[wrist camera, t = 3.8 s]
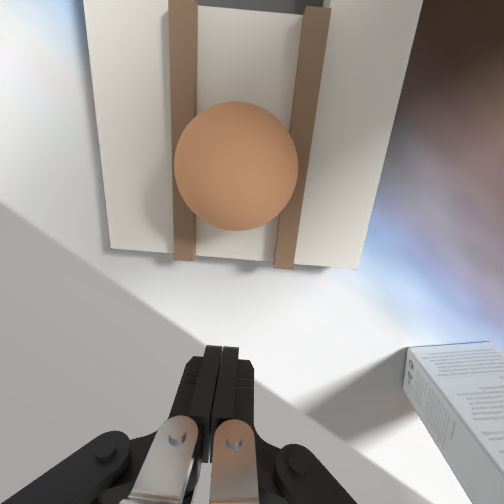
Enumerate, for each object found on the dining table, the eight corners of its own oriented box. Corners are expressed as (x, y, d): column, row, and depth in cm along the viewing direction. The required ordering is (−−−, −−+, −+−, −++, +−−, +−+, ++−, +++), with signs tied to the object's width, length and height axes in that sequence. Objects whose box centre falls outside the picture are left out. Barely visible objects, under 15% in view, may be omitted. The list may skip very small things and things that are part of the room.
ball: (190, 105, 13) (151, 81, 8) (297, 115, 13) (319, 96, 8) (190, 211, 14) (158, 241, 10) (284, 219, 15) (296, 253, 10)
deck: (82, -278, 10) (19, -427, 7) (457, -241, 10) (526, -374, 8) (126, 237, 17) (103, 253, 15) (347, 256, 17) (362, 275, 15)
